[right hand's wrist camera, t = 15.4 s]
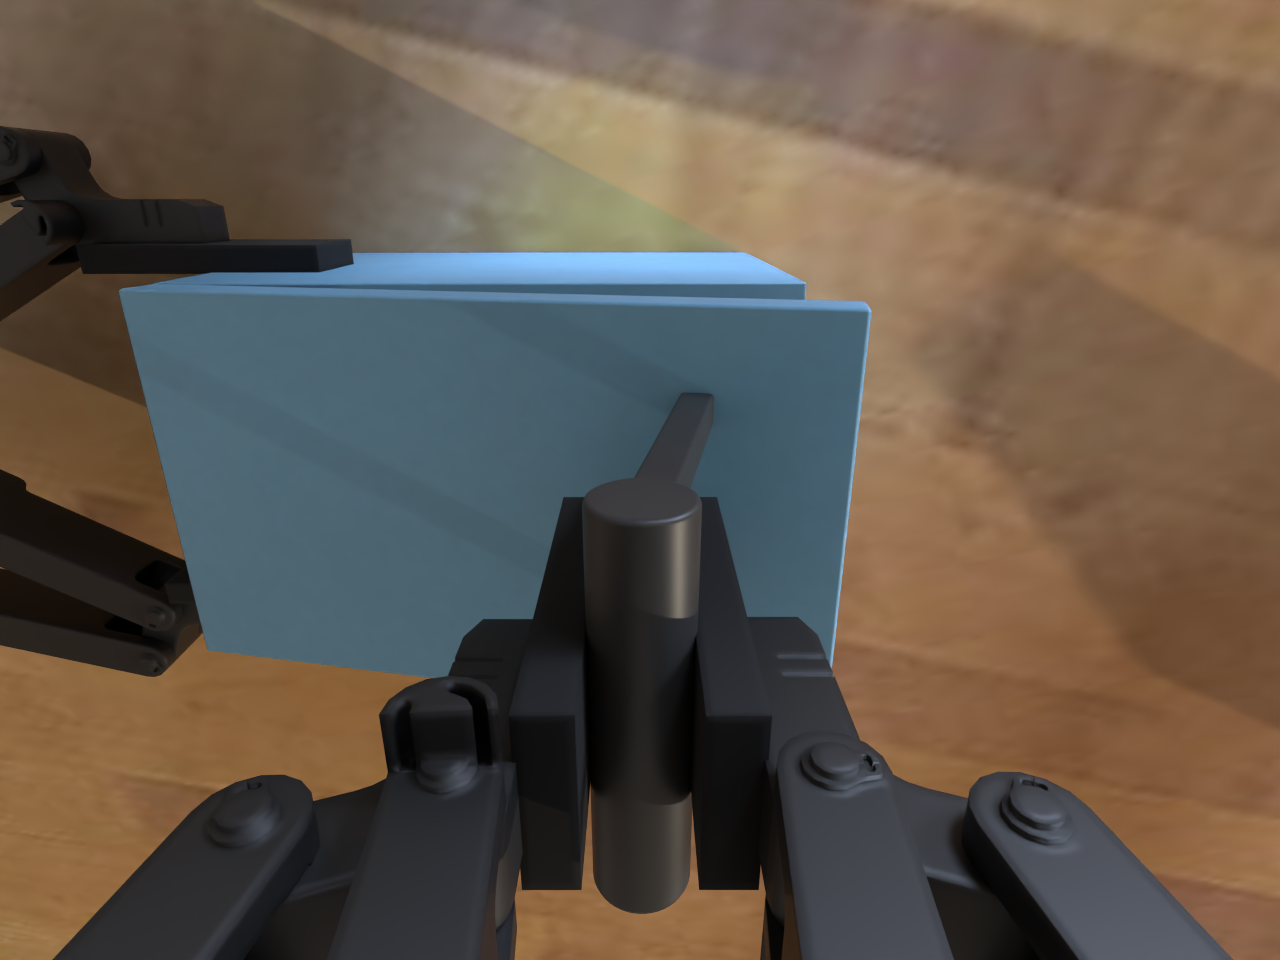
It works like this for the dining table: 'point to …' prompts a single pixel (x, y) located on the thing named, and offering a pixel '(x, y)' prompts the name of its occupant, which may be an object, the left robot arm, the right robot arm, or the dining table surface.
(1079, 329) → the dining table surface
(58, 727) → the dining table surface
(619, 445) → the lid
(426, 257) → the chest
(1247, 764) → the dining table surface
